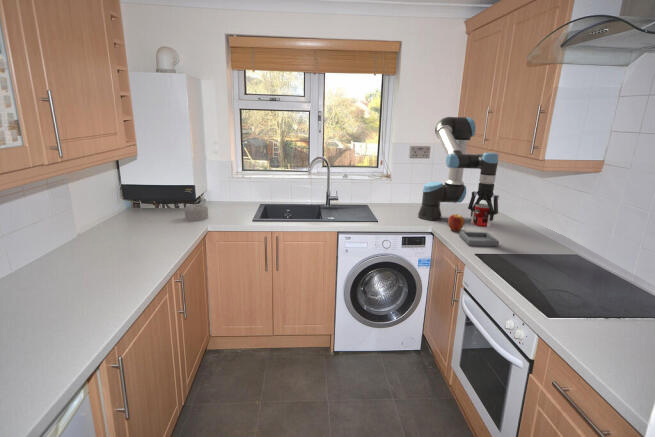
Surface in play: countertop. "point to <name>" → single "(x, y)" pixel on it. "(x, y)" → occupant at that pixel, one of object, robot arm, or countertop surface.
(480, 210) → the canned food
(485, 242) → the tray
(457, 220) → the apple
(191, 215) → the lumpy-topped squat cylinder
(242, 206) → the countertop surface
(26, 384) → the countertop surface
